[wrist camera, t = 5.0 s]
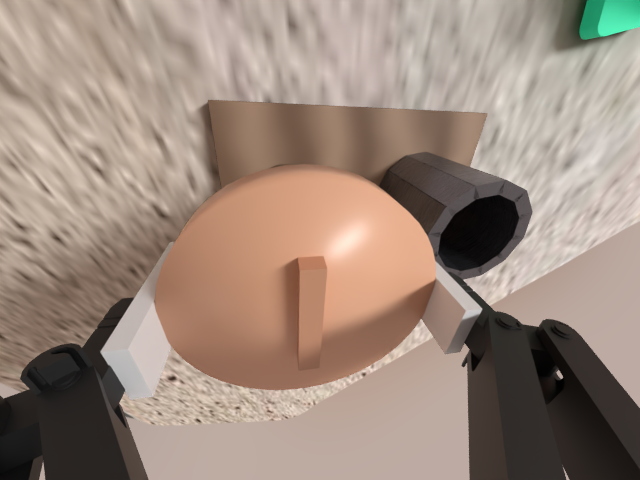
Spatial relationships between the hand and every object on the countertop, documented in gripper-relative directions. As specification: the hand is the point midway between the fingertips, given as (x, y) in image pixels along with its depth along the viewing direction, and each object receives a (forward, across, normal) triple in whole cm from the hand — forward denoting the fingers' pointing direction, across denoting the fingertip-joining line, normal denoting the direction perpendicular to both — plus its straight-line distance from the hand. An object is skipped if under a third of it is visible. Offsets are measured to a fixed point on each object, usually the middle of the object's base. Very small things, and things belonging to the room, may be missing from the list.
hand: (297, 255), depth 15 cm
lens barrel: (+12, +14, -1) cm, 18 cm away
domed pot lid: (0, 0, 0) cm, 0 cm away
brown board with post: (+13, +7, -1) cm, 15 cm away
